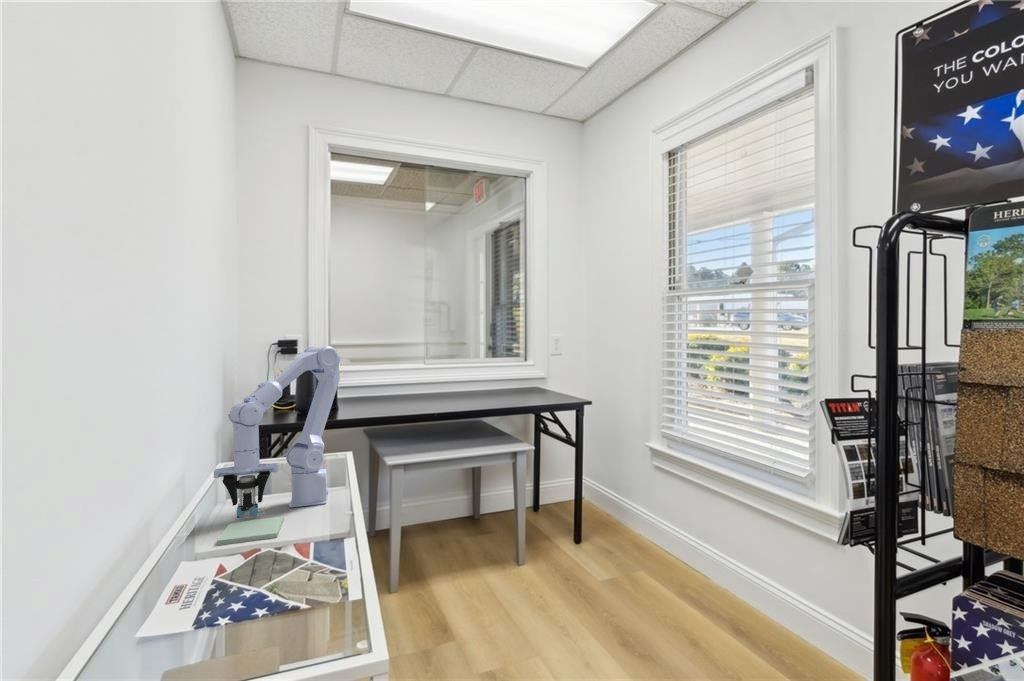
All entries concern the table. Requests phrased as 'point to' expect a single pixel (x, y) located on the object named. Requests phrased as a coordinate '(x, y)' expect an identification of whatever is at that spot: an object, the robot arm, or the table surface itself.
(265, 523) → the sage board
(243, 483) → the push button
